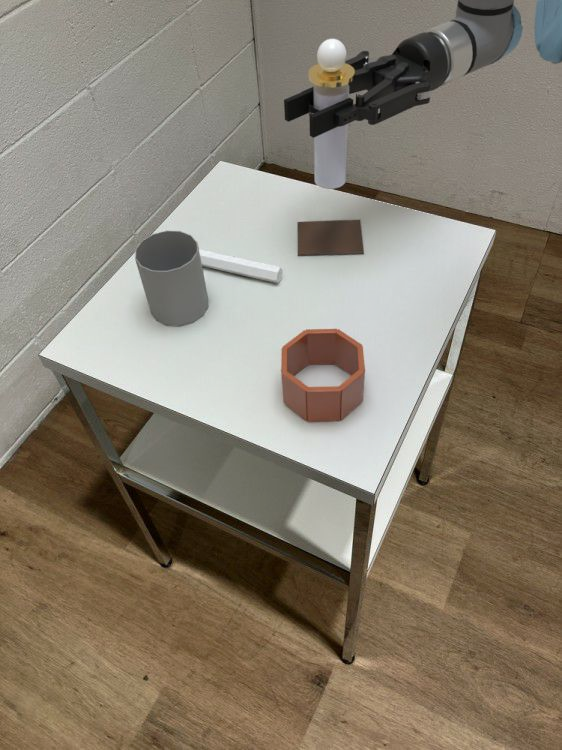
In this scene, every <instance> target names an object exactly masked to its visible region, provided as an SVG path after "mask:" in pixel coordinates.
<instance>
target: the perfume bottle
mask: <svg viewBox="0 0 562 750" xmlns="http://www.w3.org/2000/svg"><path fill="white" fill-rule="evenodd" d="M347 54H348V53H347V48H346V47H345V44H344V43H343V42H342V41H340V40H339V39H337V38H328V39H325V40H324V41H322V43H320V45H319V46H318V48H317V52H316V60H317V64H315V65H313V66H311V67H310V68H309V70H308V73H307V74H308V75H307V76H308V80H309V82H310V83H311V84H313V86H314V88H313V89H314V108H313V107H312V106H311V105H310V103H309V113H308V116H309V115H311V114H313V113H316V112H318V111H320V110H323V109H325V108H327V107H329V106H332V105H334V104H336V103H338V102H341V101H343V100H345V99H347V98H350V94H349V85H348V84H349V83H350V82H352V81H353V79H354V77H355V70H354V68H353V67H352V66H351V65H349V64H346V63H345V62H346V61H347V56H348V55H347ZM310 111H311V112H310ZM348 139H349V124H346V125H344V126H341V127H339V126H338V127H336V128H334V129H332V130H330V131H327V132H325V133H323V134H321V135H319V136H317V137H314V138H313V171H314V174H313V175H314V176H313V177H314V184H315V185H316V186H318V187H319V188H322V189H326V190H334V189H338V188H341V187H343V186H344V185H345V184H346V182H347V173H348V172H347V171H348V170H347V169H348V166H347V165H348Z"/></svg>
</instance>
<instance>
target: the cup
mask: <svg viewBox="0 0 562 750" xmlns="http://www.w3.org/2000/svg"><path fill="white" fill-rule="evenodd" d="M199 247H200V246H199V242H198V241H197V240H196V239H195V238H194V237H193V235H192V234H189V233H187V232H183V231H181V230H163V231H159V232H155V233H153V234H151V235H149V236H147V237H146V238H144V239H142V240H141V241H140V243H138V245H137V247H135V250H134V252H135V253H134V261H135V265H136V267H137V271H138V274H139V278H140V280H141V284H142V288H143V291H144V294H145V299H146V301H147V305H148V308H149V312H150V314H151V315H152V317H153V319H154V320H155V321H156V322H158V323H159V324H162V325H164V326H167V327H183V326H187V325H189V324H193V323H194V322H196V321H198V320H199V319H201V318H202V317H204V315H205V313H206V312H207V310H208V308H209V295H208V290H207V284H206V279H205V275H204V270H203V266H202V263H201V258H200V253H199V249H200V248H199Z"/></svg>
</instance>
